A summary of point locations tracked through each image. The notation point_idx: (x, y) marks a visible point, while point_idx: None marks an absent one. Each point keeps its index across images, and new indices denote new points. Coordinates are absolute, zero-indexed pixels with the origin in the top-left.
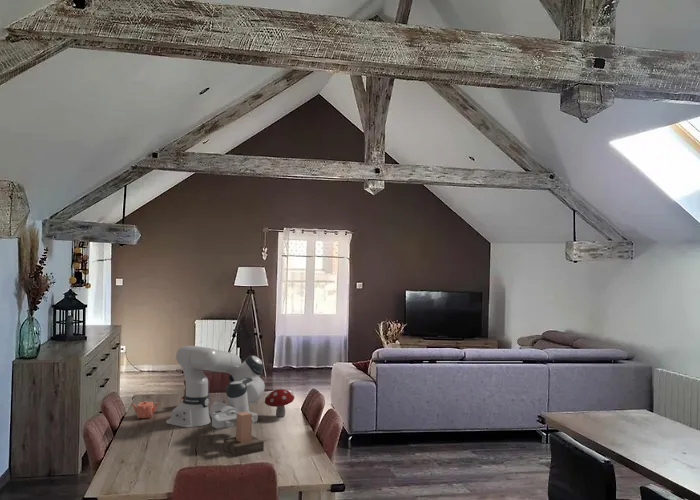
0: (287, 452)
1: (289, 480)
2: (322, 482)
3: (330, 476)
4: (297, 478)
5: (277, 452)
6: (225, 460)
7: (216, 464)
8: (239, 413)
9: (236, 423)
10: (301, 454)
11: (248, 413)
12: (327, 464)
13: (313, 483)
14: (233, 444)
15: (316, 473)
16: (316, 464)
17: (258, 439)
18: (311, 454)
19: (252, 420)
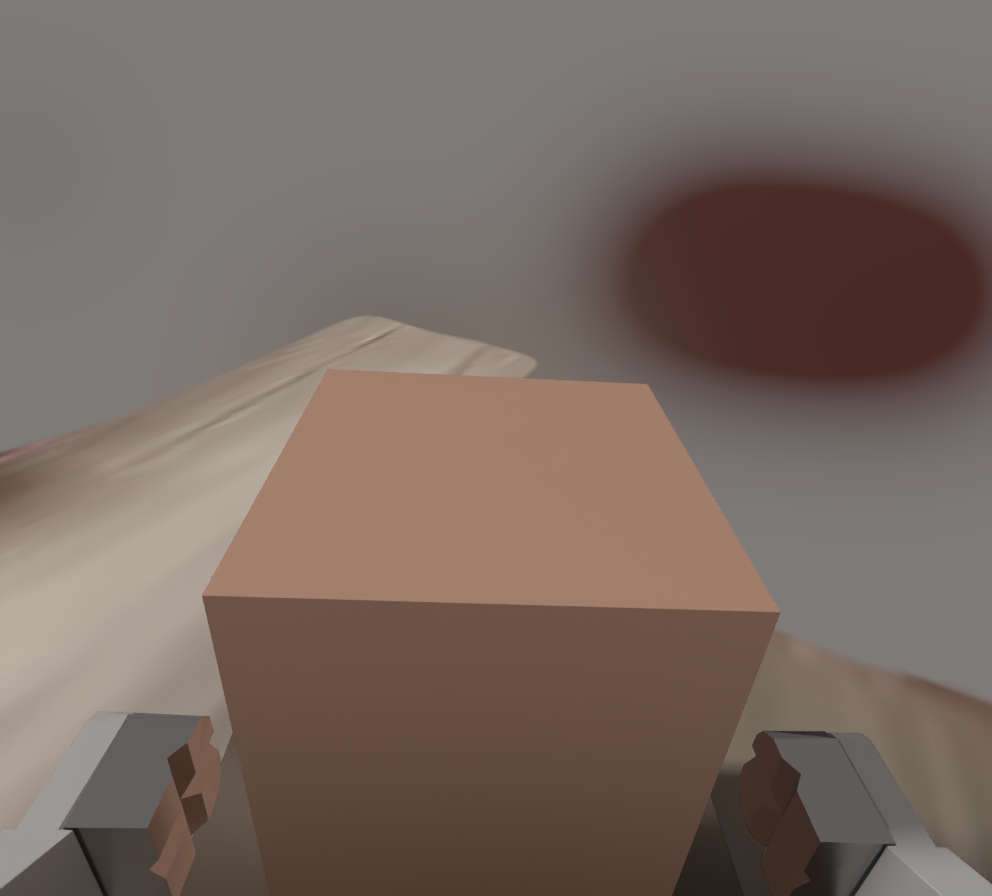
0: (147, 594)
1: (500, 367)
2: (401, 327)
3: (330, 335)
4: (457, 365)
5: (209, 639)
6: (804, 730)
7: (900, 684)
8: (656, 520)
9: (672, 879)
10: (126, 515)
11: (375, 413)
12: (206, 383)
13: (435, 333)
14: (707, 825)
15: (348, 360)
16: (246, 400)
17: (217, 818)
18: (81, 486)
19: (149, 717)
